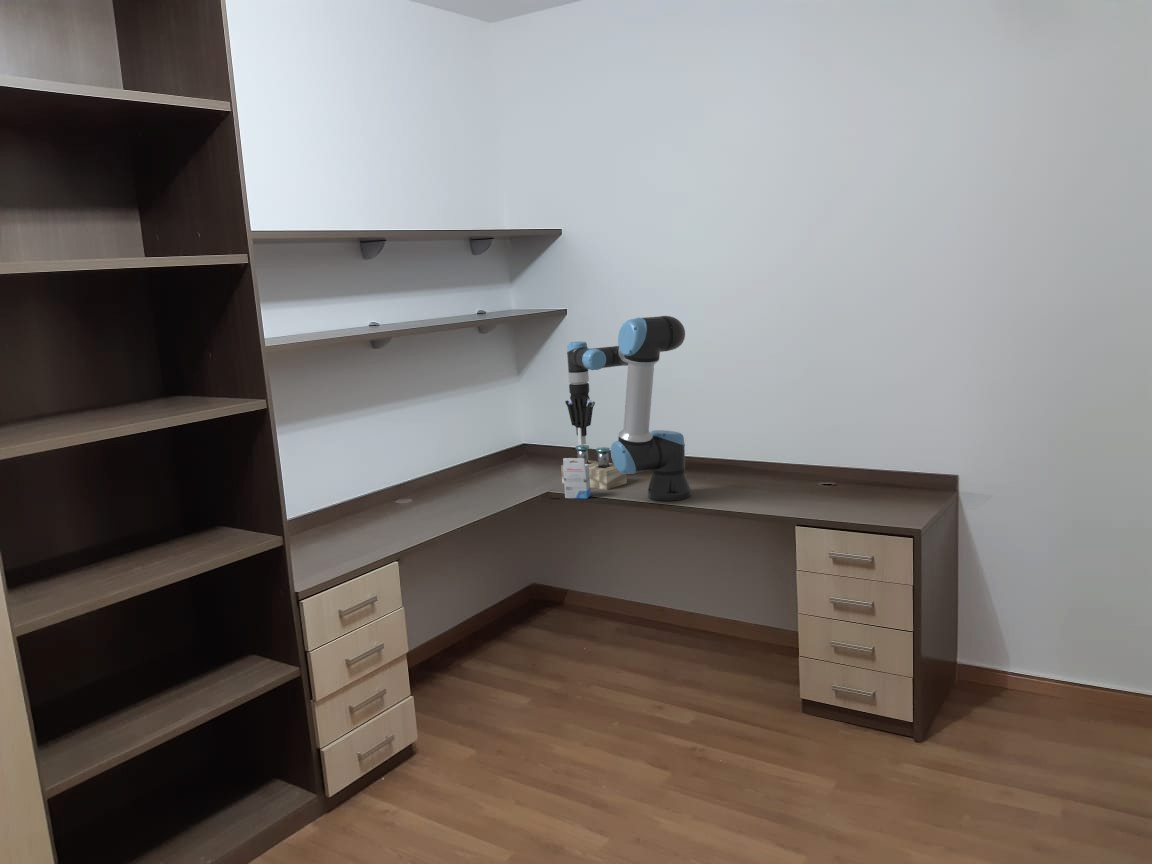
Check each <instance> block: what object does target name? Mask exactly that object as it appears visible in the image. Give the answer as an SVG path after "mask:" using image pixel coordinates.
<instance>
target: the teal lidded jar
mask: <svg viewBox="0 0 1152 864" xmlns="http://www.w3.org/2000/svg"><path fill="white" fill-rule="evenodd" d="M575 450H576V451H577V452H576V453H577V454H576V455H577V458H584V460H585V464H588V460H589V452H588V451H589V450H590V445H587V444H584V445H576V446H575Z"/></svg>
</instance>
